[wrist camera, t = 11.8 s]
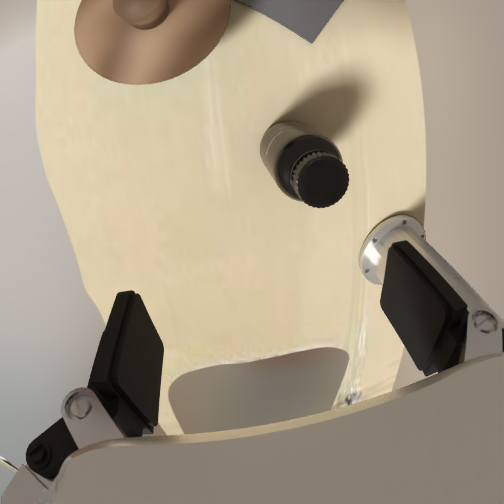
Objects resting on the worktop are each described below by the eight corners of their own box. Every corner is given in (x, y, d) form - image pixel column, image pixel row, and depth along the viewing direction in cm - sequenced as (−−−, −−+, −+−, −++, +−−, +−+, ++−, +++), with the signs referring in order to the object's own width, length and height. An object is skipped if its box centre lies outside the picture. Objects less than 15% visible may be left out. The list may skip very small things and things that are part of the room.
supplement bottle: (256, 121, 31) (283, 142, 21) (314, 119, 32) (363, 140, 22) (259, 177, 35) (285, 223, 25) (314, 173, 36) (357, 215, 26)
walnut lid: (258, -13, 18) (273, -35, 13) (179, 107, 24) (172, 114, 19) (129, -59, 13) (115, -84, 8) (55, 60, 18) (23, 59, 13)
